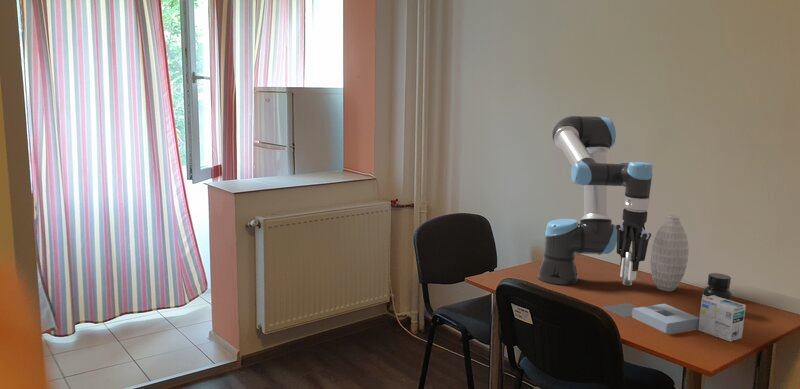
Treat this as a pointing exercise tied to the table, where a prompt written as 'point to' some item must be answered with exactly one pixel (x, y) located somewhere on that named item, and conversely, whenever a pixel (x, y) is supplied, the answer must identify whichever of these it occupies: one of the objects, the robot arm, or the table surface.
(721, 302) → the light bulb box
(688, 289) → the table surface
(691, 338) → the table surface
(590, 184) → the robot arm
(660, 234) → the vase
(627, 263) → the pin
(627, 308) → the mat
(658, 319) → the socket block
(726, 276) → the ink bottle
